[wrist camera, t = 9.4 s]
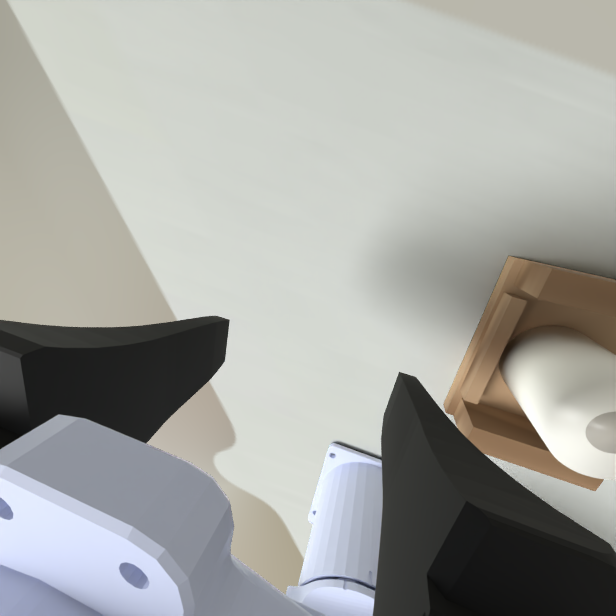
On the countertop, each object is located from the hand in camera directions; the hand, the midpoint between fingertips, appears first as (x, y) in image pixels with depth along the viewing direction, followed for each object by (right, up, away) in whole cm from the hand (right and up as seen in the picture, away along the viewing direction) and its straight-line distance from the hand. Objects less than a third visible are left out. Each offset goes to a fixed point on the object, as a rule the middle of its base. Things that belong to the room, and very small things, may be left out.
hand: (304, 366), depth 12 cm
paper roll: (+15, -1, +6) cm, 16 cm away
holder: (+15, -1, +7) cm, 16 cm away
